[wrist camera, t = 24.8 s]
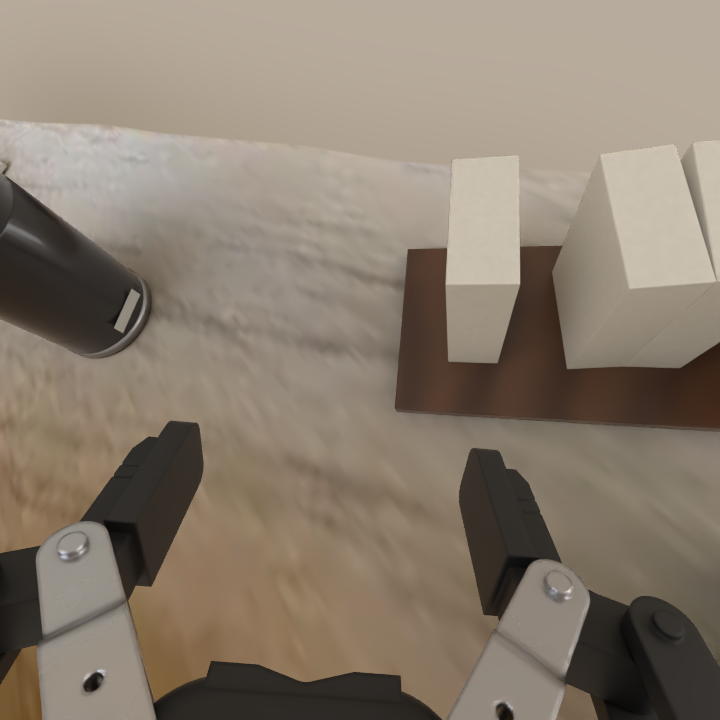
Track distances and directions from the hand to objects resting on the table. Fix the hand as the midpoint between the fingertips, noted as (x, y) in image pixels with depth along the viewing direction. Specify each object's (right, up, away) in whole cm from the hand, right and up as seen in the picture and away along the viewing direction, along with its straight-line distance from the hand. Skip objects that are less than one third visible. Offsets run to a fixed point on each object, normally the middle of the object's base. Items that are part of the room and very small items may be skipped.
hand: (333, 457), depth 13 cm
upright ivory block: (+10, +6, +21) cm, 24 cm away
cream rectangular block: (+17, +6, +19) cm, 27 cm away
